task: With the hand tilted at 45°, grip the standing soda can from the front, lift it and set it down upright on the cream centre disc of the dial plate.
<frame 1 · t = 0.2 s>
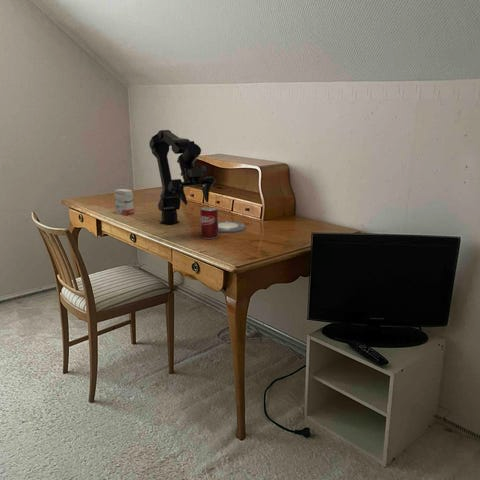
hand: (197, 203, 199), 15 cm above the table, tool tilted 35°, fingers open, 9 cm apart
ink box: (125, 214, 245), on the table
soda can: (209, 237, 206), on the table
dial plate: (227, 228, 220), on the table
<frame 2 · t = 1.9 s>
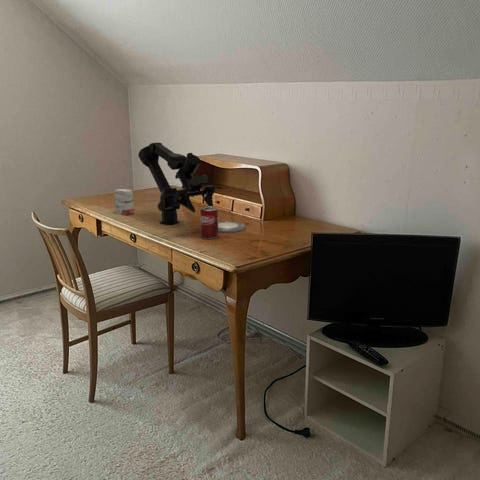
hand: (203, 210, 205), 11 cm above the table, tool tilted 45°, fingers open, 9 cm apart
nothing on the table moved.
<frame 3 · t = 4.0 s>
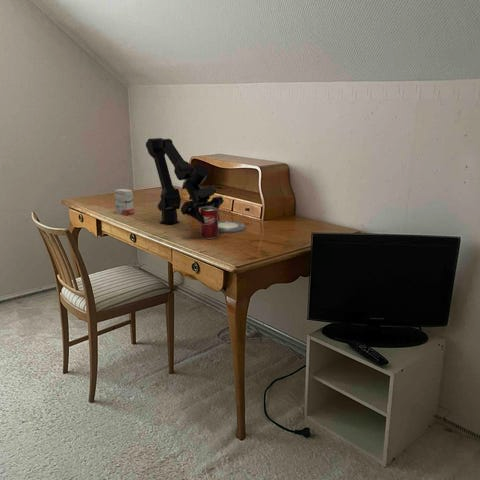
hand: (211, 222, 203), 7 cm above the table, tool tilted 45°, fingers closed on soda can, 7 cm apart
soda can: (209, 237, 206), on the table, touching gripper
everything else where it was.
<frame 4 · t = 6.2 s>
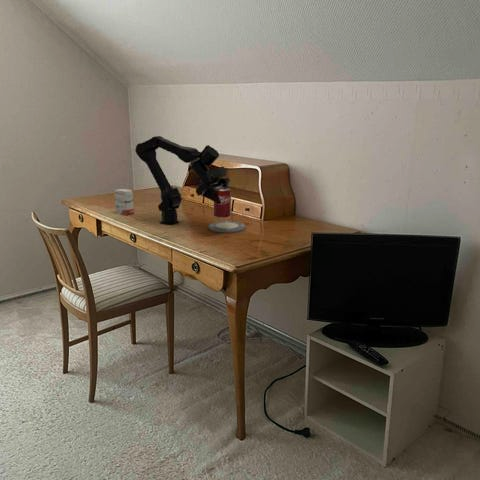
hand: (225, 201, 209), 13 cm above the table, tool tilted 45°, fingers closed on soda can, 7 cm apart
soda can: (222, 217, 212), point 6 cm above the table, touching gripper
everything else where it was.
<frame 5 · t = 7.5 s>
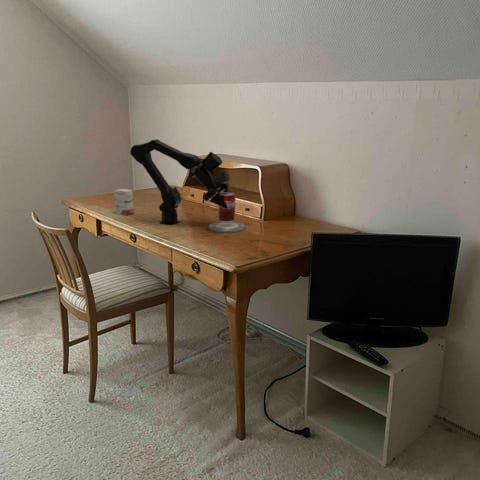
hand: (229, 206, 216), 10 cm above the table, tool tilted 45°, fingers closed on soda can, 7 cm apart
soda can: (226, 221, 219), point 3 cm above the table, touching gripper
everything else where it was.
when the fingers open (9 cm above the table, at t = 8.7 s): soda can drops 1 cm, resting on dial plate.
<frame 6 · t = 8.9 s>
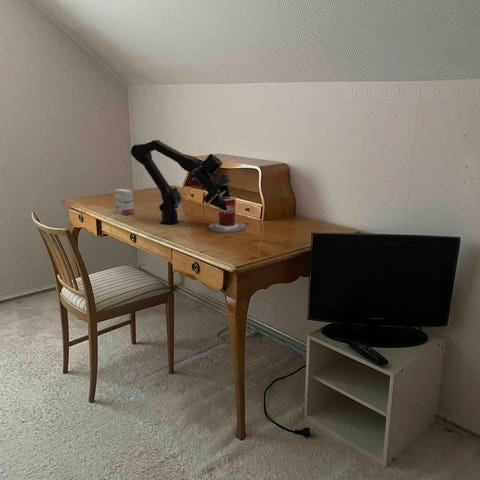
hand: (230, 207, 217), 9 cm above the table, tool tilted 45°, fingers open, 9 cm apart
soda can: (226, 225, 219), point 1 cm above the table, touching dial plate
everything else where it was.
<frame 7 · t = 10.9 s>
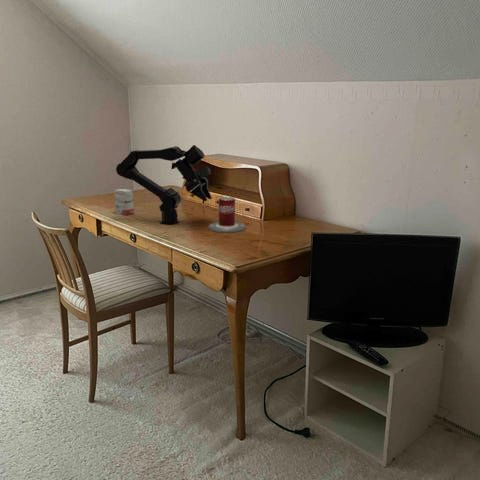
hand: (208, 199, 219), 12 cm above the table, tool tilted 40°, fingers open, 9 cm apart
nothing on the table moved.
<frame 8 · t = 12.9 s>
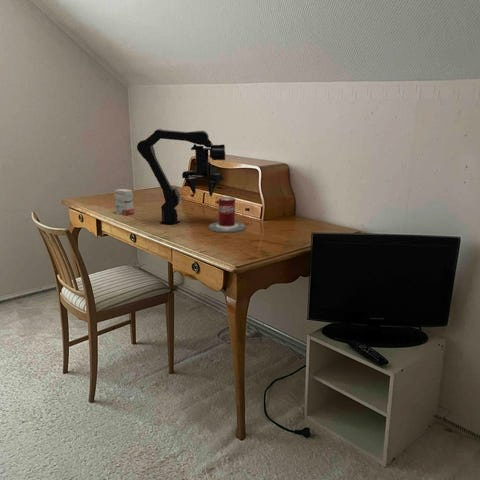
hand: (202, 195, 224), 13 cm above the table, tool pointing down, fingers open, 9 cm apart
nothing on the table moved.
at the end: soda can 0.2 cm off-centre on the dial plate, point 1.0 cm above the dial plate's base; soda can tilted 0°; the gripper is holding nothing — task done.
